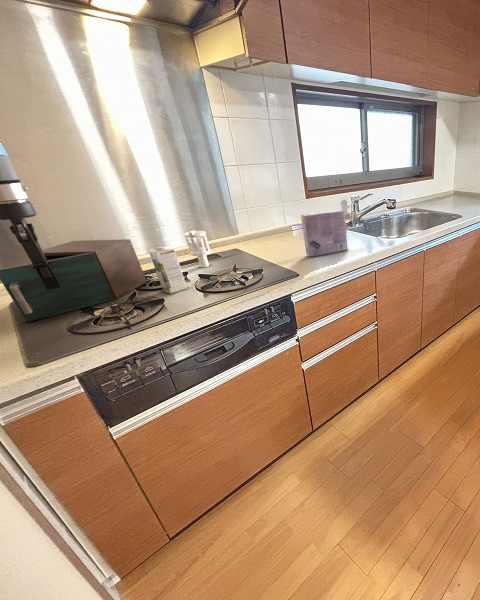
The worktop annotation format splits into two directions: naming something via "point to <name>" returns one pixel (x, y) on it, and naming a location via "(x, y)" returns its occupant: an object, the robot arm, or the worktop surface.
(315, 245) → the purple printed carton
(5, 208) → the robot arm
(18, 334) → the worktop surface
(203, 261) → the white slotted fitting
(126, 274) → the cupboard
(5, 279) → the cupboard door
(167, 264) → the syrup box
